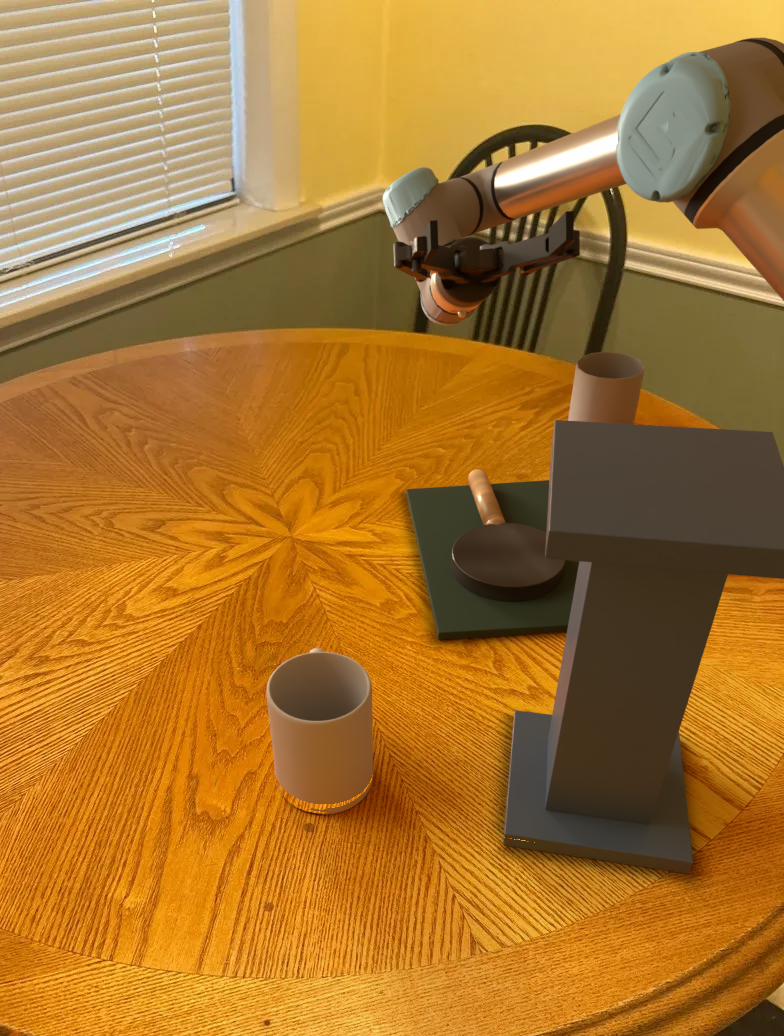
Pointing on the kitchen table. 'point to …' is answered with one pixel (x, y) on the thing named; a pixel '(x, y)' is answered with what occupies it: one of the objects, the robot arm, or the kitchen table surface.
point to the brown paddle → (502, 553)
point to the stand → (637, 628)
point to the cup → (606, 388)
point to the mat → (454, 607)
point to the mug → (322, 728)
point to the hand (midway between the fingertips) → (502, 230)
